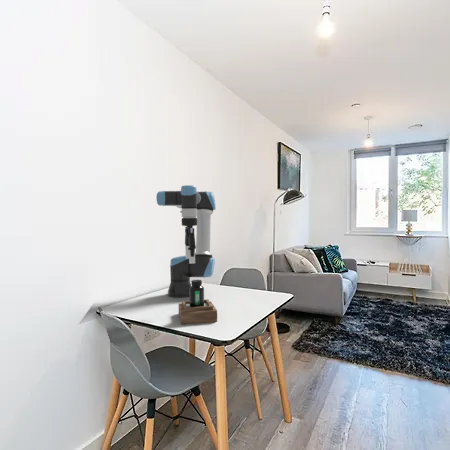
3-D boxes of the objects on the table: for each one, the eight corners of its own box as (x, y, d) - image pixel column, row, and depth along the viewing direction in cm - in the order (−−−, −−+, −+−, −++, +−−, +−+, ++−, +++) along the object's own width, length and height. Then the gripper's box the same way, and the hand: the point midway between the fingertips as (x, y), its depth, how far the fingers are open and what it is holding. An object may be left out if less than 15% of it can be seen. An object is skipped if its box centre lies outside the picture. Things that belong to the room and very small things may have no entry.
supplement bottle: (200, 308, 143) (199, 282, 143) (186, 307, 146) (186, 281, 146) (206, 304, 150) (206, 279, 150) (193, 303, 152) (193, 278, 152)
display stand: (178, 313, 154) (178, 300, 154) (211, 311, 157) (210, 298, 157) (181, 324, 138) (181, 309, 138) (217, 321, 142) (217, 307, 142)
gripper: (178, 216, 164) (179, 257, 166) (184, 218, 140) (185, 266, 141) (193, 216, 166) (194, 256, 167) (201, 218, 142) (202, 265, 143)
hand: (190, 261), depth 154 cm, fingers open, 13 cm apart
